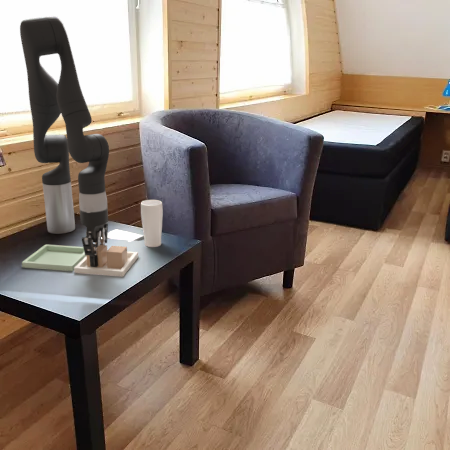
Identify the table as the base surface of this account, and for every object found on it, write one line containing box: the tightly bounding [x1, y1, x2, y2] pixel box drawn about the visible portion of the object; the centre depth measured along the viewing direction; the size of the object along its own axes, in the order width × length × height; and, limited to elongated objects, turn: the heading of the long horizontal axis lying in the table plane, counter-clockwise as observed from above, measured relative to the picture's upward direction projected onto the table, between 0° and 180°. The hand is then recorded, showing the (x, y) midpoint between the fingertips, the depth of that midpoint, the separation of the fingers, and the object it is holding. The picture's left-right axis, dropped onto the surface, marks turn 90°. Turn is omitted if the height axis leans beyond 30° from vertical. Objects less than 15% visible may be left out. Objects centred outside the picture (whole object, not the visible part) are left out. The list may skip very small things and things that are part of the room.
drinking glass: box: [140, 199, 164, 248], centre depth 151 cm, size 7×7×15 cm
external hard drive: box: [107, 228, 144, 243], centre depth 161 cm, size 2×8×12 cm
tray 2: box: [73, 250, 139, 278], centre depth 138 cm, size 14×14×2 cm
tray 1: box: [21, 244, 86, 272], centre depth 140 cm, size 14×15×2 cm
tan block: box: [106, 245, 128, 269], centre depth 136 cm, size 4×4×5 cm
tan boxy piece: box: [86, 244, 108, 267], centre depth 137 cm, size 4×4×5 cm
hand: (97, 262), depth 138 cm, fingers closed on tan boxy piece, 4 cm apart
